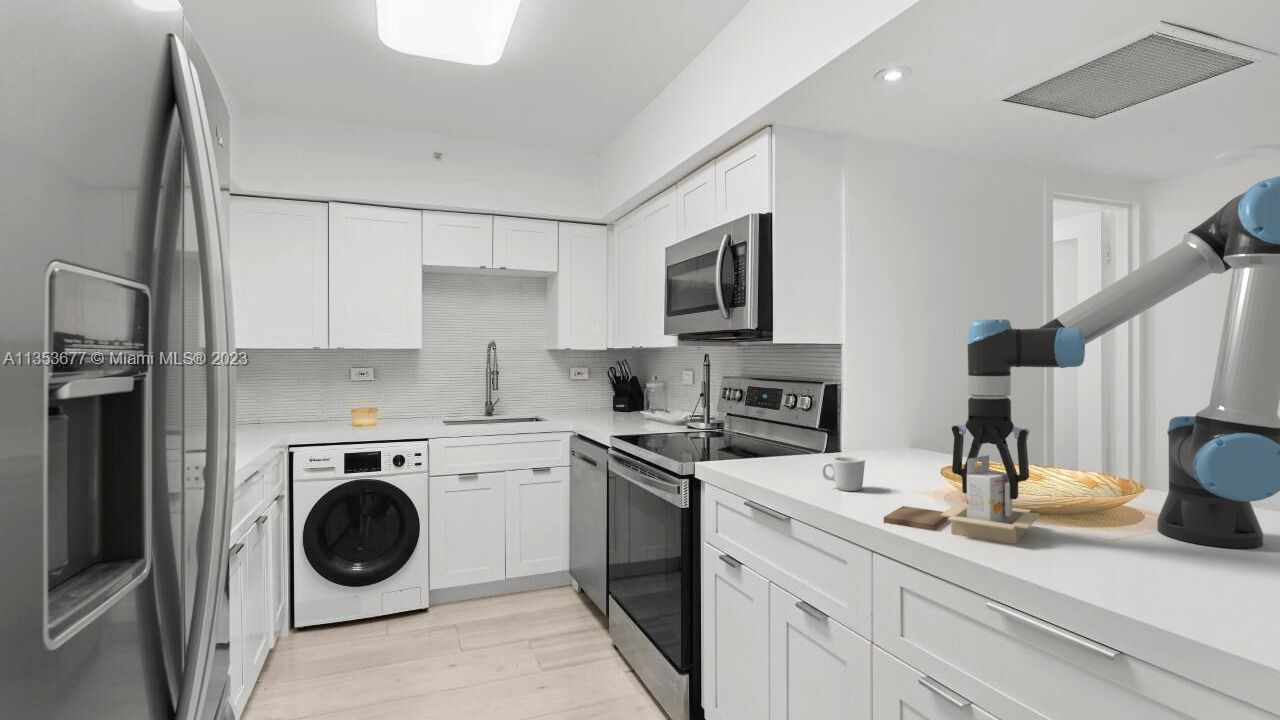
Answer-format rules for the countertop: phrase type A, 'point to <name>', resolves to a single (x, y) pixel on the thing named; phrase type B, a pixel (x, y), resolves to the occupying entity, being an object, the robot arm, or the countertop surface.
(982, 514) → the ink box
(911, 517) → the walnut board
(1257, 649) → the countertop surface
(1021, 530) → the beige tray
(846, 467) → the cup
